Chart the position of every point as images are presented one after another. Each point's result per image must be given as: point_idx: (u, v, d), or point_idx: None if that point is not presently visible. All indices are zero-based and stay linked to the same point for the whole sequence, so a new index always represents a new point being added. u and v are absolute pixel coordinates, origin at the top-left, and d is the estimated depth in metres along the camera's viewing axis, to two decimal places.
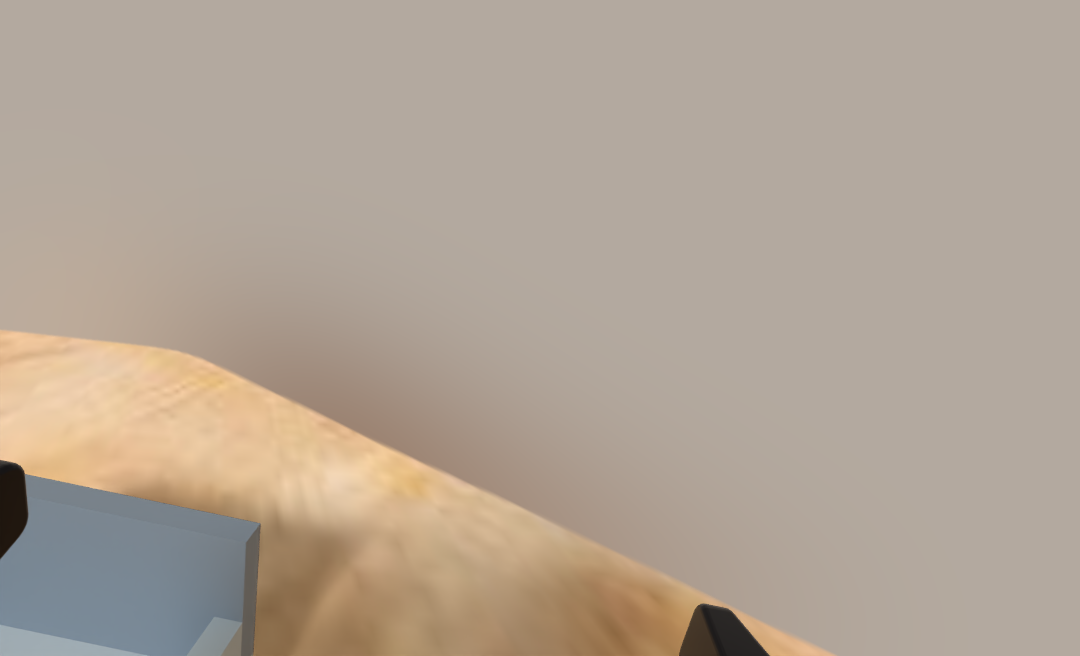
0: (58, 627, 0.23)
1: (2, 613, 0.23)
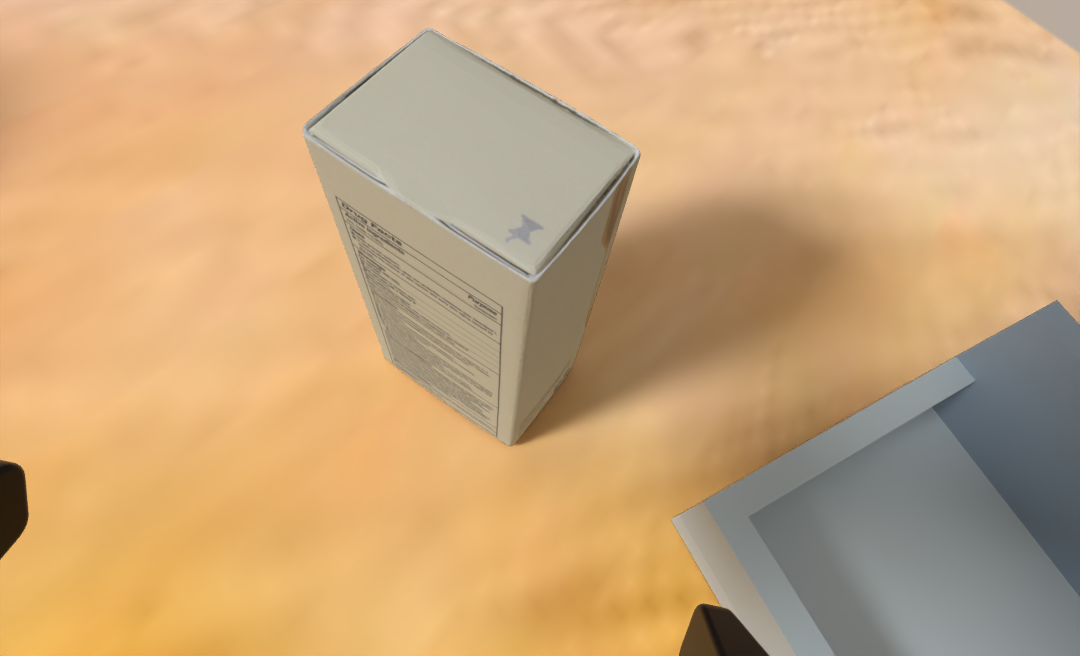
0: (1019, 504, 0.23)
1: (980, 451, 0.23)
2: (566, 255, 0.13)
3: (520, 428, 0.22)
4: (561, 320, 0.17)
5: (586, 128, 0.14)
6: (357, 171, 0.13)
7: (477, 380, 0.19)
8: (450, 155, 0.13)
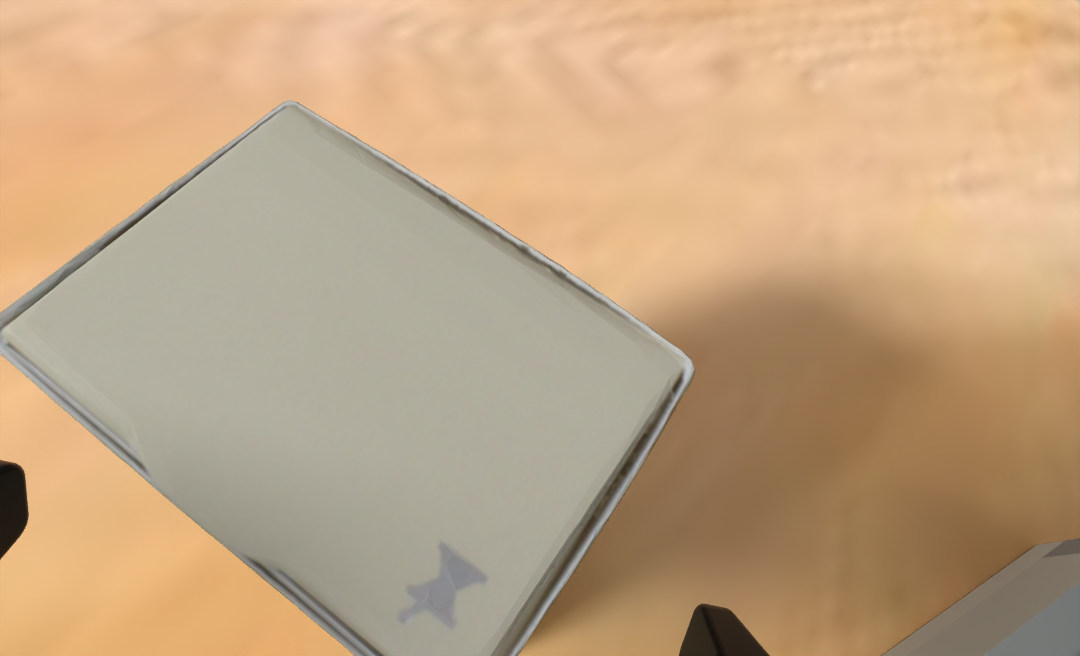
0: None
1: None
2: (540, 620, 0.06)
3: None
4: None
5: (585, 312, 0.07)
6: (89, 431, 0.06)
7: None
8: (294, 392, 0.06)
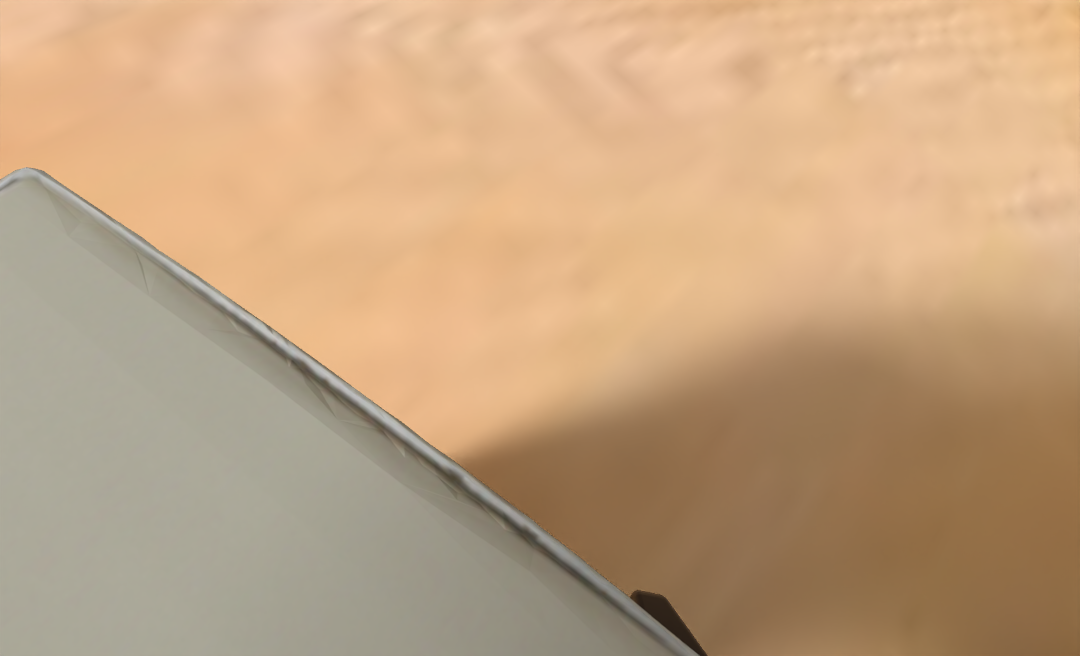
0: None
1: None
2: None
3: None
4: None
5: (575, 635, 0.03)
6: None
7: None
8: None
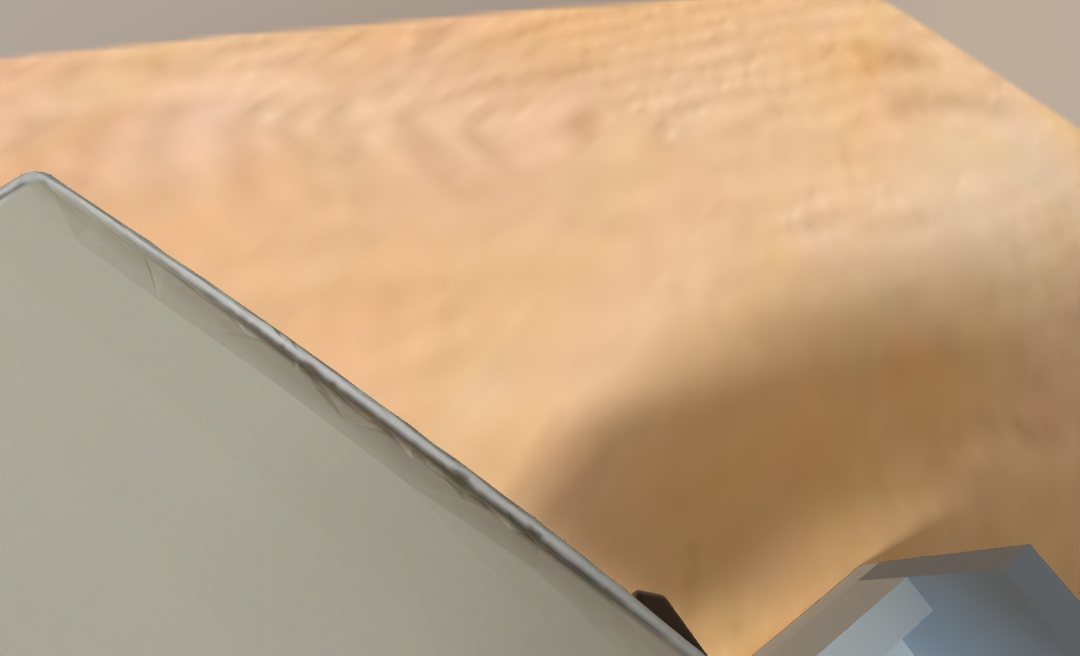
0: None
1: None
2: None
3: None
4: None
5: (579, 631, 0.03)
6: None
7: None
8: None
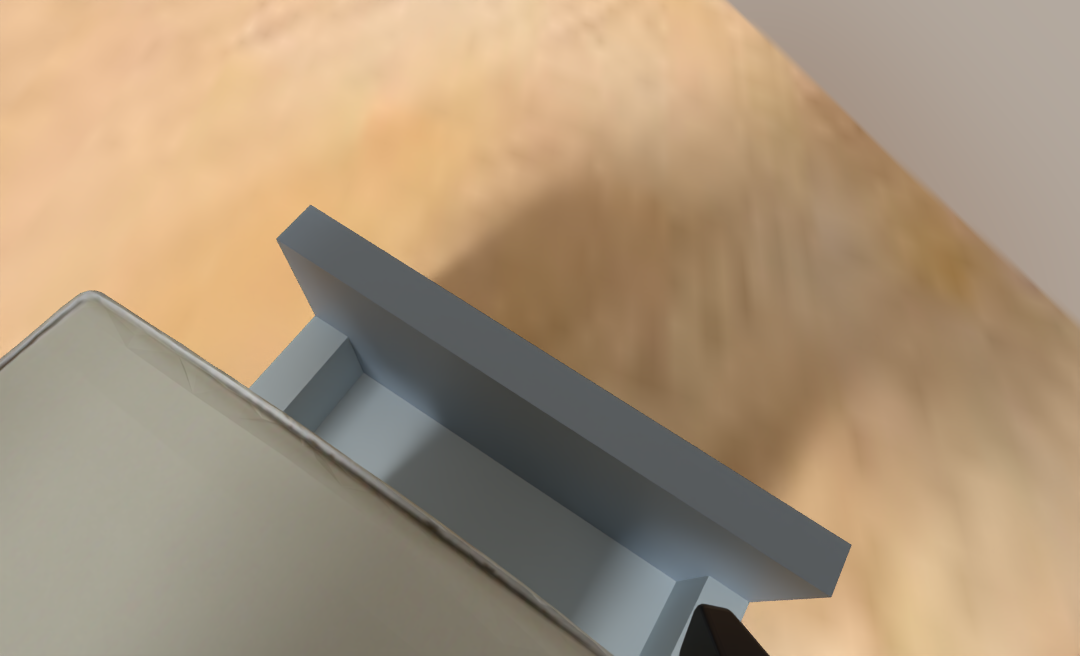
0: (492, 454, 0.17)
1: (428, 410, 0.17)
2: None
3: None
4: None
5: (522, 643, 0.05)
6: None
7: None
8: None
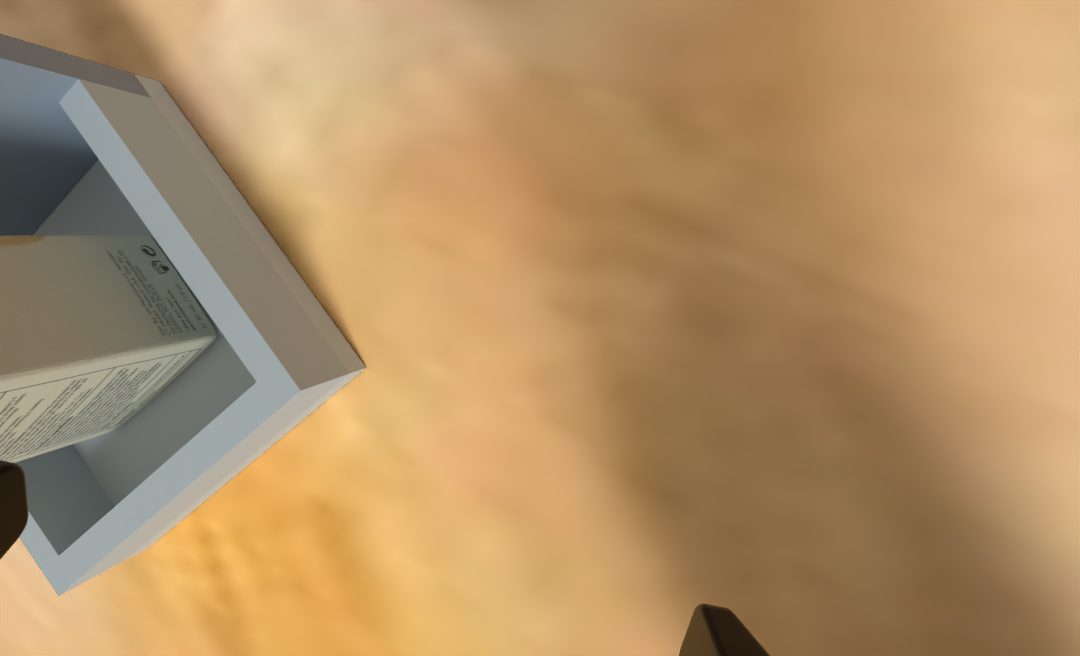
0: (24, 228, 0.22)
1: None
2: None
3: (178, 330, 0.20)
4: None
5: None
6: None
7: (53, 394, 0.17)
8: None
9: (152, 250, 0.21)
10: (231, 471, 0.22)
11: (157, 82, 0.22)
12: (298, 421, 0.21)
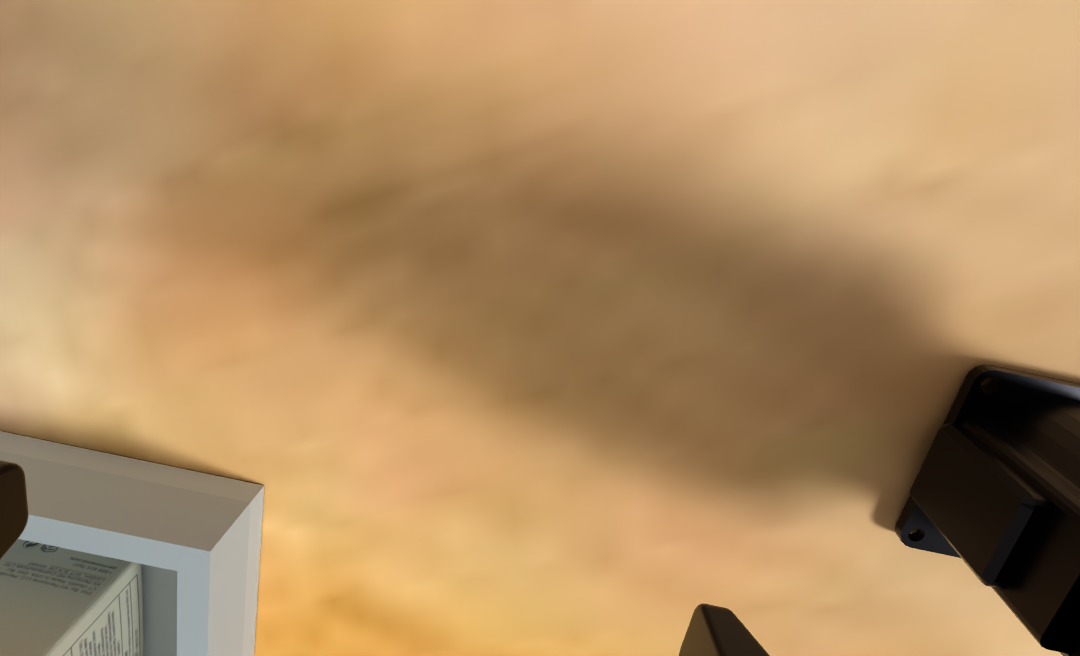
0: None
1: None
2: None
3: (101, 580, 0.21)
4: None
5: None
6: None
7: None
8: None
9: None
10: (243, 634, 0.24)
11: None
12: (255, 561, 0.23)
